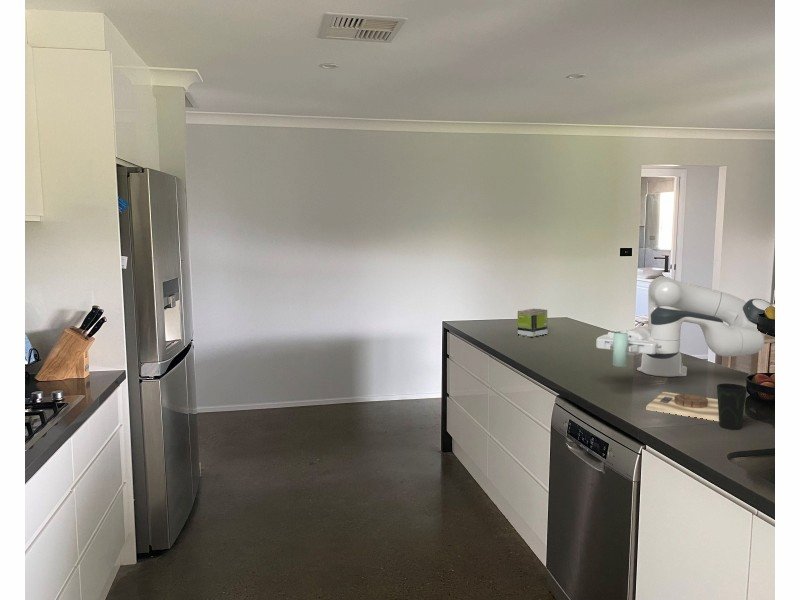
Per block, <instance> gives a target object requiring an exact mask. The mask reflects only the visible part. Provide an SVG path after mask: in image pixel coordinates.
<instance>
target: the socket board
mask: <svg viewBox="0 0 800 600" xmlns="http://www.w3.org/2000/svg"><path fill="white" fill-rule="evenodd" d="M645 410H646V411H652V412H656V411H657V412H658V413H663V412H664V413H665V414H669V413H670V415H675V414H677V416H681V415H682V416H683V417H688V416H690V417H689V418H694V417H697V418H696V419H700V418H703V419H702V420H706V419H707V420H708V421H713V420H714V421H715V422H719V412H718V398H710V397H705V396H702V395H697V394H690V393H677V392H676V393H674V392H668V391H663V392H661V393H660V394H659V395H657V396H656V397H655V398H654V399H653V400H652V401H650V402H649V403H648V404H647V405H645Z"/></svg>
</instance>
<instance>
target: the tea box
mask: <svg viewBox="0 0 800 600" xmlns="http://www.w3.org/2000/svg"><path fill="white" fill-rule="evenodd" d="M548 332H549V331H548V309H544V308H543V309H541V308H529V309H522V310H521V309H520V310H518V311H517V335H518V334H521V335H527V336H536V335H542V334H548Z"/></svg>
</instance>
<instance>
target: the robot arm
mask: <svg viewBox="0 0 800 600" xmlns="http://www.w3.org/2000/svg"><path fill="white" fill-rule="evenodd" d="M648 285H649V286H648V291H647V292H648V296H647V297H648V299H647V300H648V301H647V304H648V308H647V309H648V325H647V326H639V327H638V326H637V327H634V328H633V329H630V330H627V329H626V330H621V331H608V332H607V334H606V333H605V334H602V335H600V336H598V337H597V338H596V340H595V341H596V342H595V347H596V349H598V350H599V349H601V350H610V351H613V340H614V333H618V332H619V333H627V334H628V346H627V347H626V352H627V356H633V357H634V356H637V355H639V354H642V355H641V365H640V366H638V367H637V368H636V370H637V371H639V372H642V373H644V374H647V375H651V376H656V377H666V378H667V377H687V375H688V367H687V366H685V365H684V363H683V362H682V354H681V352H680V350H681V349H680V347H681V346H680V345H681V329H682V328H681V326H682V324H683V323H689V324H694V325H699V327H700V329H701V331H702V333H703V338H704V340H705V343H706V345H707V347H708V348H709V350H711V352H712V353H714V354H716V355H717V356H720V357H721V356H722V357H744V356H749V355H753V354H757V353H759V352H761V351H762V350H763V349H764V346H765V343H766V342H765V340H766V339H765V337H766V335H767V333H766V334H763V333H761V332H760V331H758V329H757V315H758V314H763V313H765V309H766V308H767V307H769V306H773V304H772V303H770V302H769V301H767V300H765V299H761V298H752V299H749V300H748V301H747V302H746V300H744V299H741V298H739V297H738V296H735V295H733V294H730V293H727V292H723V291H719V290H715V289H712V288H707V287H704V286H701V285H696V284H692V283H687V282H683V281H680V280H675V279H673V278H671V277H668V276H658V277H656V278H654V279H653V280H652V281H651V282H650V284H648ZM725 323H726V324H725Z"/></svg>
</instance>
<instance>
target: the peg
mask: <svg viewBox="0 0 800 600" xmlns="http://www.w3.org/2000/svg"><path fill="white" fill-rule="evenodd" d="M617 332H618V333H614V340H613V350H612V366H613V367H618V368H626V367H627V366H628V355H627V352H626V347H627V346H628V334H627V333H619V332H620V331H617Z"/></svg>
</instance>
